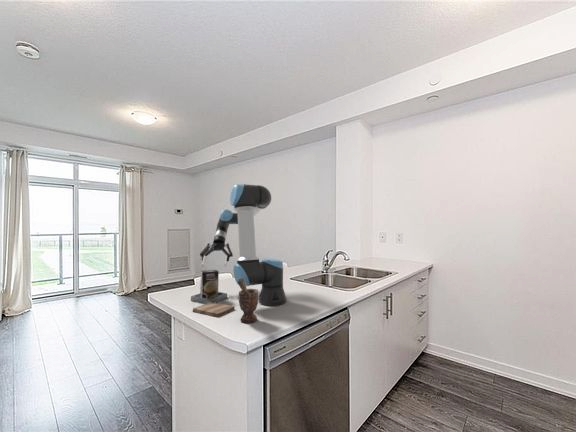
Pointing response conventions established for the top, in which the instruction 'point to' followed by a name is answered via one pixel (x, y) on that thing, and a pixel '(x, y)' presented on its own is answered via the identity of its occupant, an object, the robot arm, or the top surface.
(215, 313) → the walnut board
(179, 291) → the top surface
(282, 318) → the top surface
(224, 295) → the holder ring
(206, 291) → the coffee box
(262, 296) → the robot arm
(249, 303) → the mortar and pestle
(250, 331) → the top surface
